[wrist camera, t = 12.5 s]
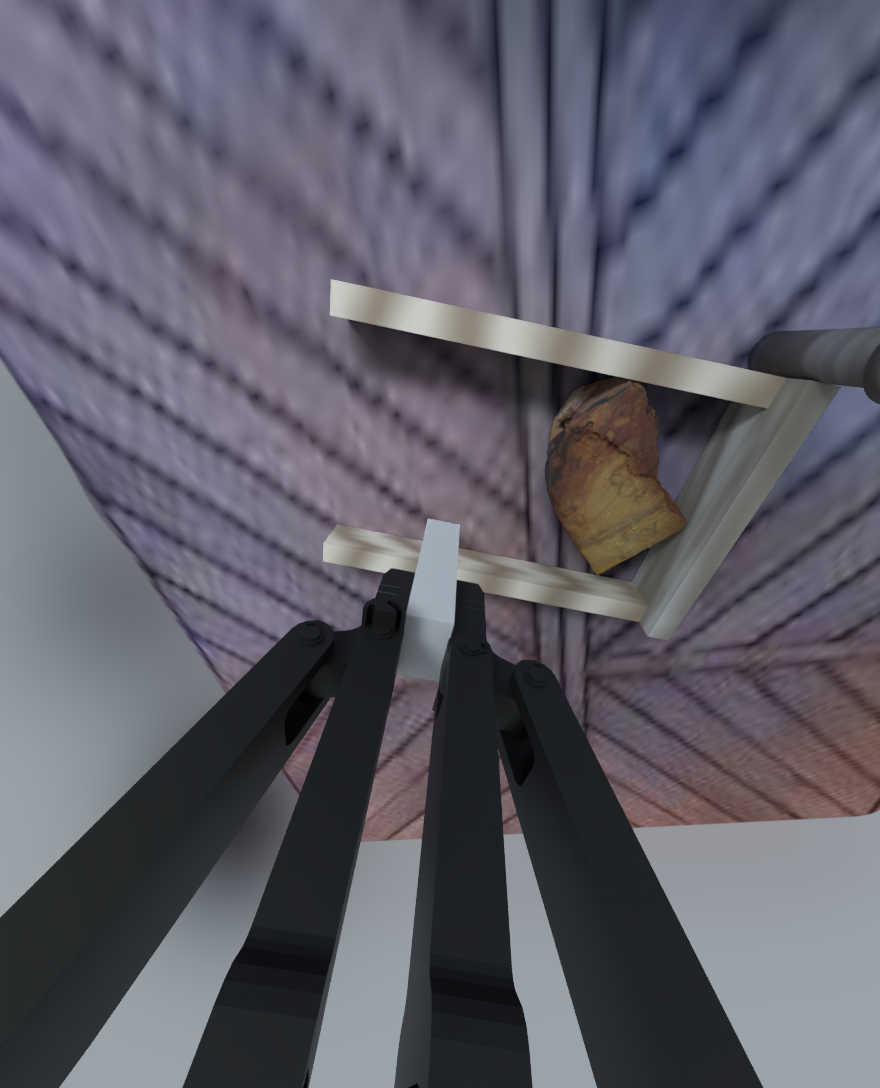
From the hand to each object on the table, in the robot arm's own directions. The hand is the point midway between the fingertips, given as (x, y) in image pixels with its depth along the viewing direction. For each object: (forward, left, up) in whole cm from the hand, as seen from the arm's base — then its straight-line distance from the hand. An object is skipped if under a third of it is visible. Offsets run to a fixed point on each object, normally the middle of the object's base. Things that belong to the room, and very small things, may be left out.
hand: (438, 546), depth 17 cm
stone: (+14, 0, -18) cm, 22 cm away
